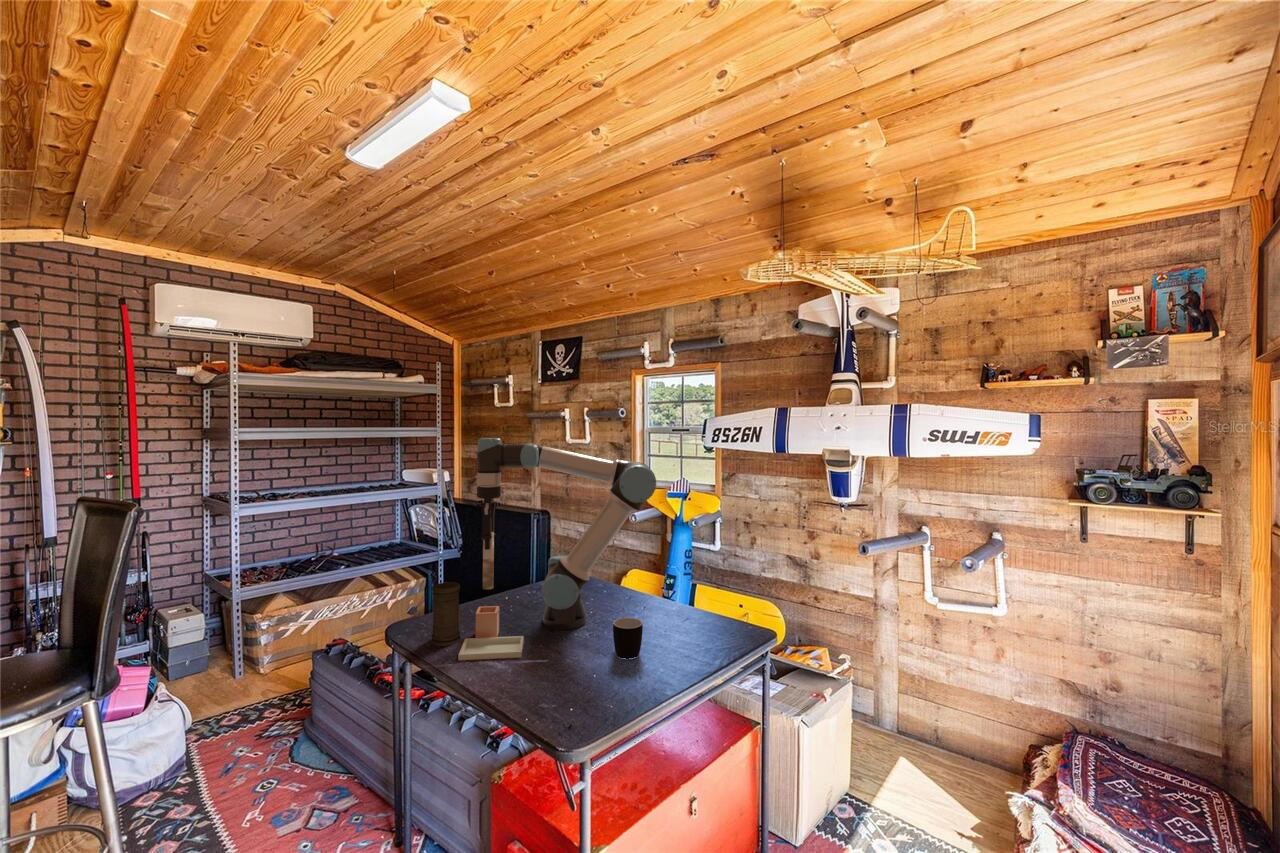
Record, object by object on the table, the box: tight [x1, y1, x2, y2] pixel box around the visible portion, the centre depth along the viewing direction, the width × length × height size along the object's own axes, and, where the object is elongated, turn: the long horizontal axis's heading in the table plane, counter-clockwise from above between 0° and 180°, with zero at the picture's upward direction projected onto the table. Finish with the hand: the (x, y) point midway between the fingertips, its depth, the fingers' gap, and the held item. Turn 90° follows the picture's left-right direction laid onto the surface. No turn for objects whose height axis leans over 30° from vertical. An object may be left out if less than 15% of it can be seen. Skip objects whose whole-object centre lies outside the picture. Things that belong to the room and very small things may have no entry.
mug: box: [612, 617, 644, 659], centre depth 169 cm, size 12×9×10 cm
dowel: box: [482, 531, 495, 590], centre depth 181 cm, size 3×3×18 cm
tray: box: [457, 635, 525, 661], centre depth 169 cm, size 18×12×2 cm, turn 98°
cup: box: [475, 605, 500, 638], centre depth 181 cm, size 7×7×9 cm
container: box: [430, 581, 462, 647], centre depth 177 cm, size 9×9×18 cm
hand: (488, 557), depth 181 cm, fingers closed on dowel, 3 cm apart
